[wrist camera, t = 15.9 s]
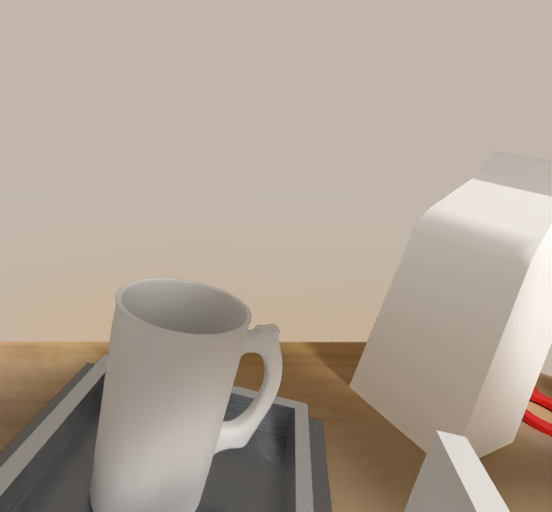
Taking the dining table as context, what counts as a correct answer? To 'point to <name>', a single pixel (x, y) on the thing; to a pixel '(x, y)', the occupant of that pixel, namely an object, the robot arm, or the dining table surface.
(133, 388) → the mug
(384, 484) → the dining table surface
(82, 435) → the grey shallow square tray
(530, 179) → the milk
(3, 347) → the dining table surface
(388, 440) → the dining table surface
